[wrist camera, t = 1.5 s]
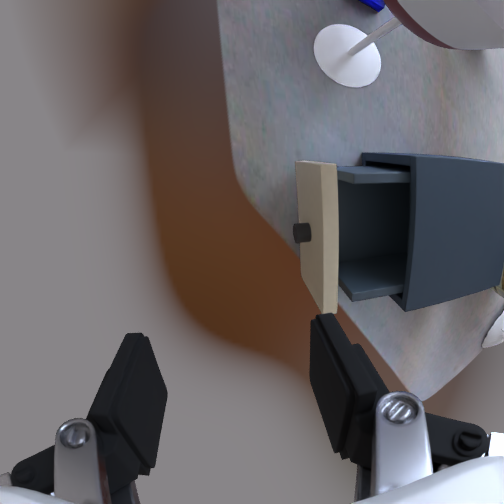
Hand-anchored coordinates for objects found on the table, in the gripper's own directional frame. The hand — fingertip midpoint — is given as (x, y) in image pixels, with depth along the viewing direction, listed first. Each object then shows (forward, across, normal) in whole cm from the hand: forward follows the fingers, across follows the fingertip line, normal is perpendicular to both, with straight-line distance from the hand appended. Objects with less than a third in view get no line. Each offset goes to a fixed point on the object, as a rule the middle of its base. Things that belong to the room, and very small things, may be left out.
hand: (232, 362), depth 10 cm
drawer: (+19, -12, 0) cm, 22 cm away
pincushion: (+20, -46, +21) cm, 54 cm away
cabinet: (+20, -20, 0) cm, 28 cm away
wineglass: (+20, -14, -17) cm, 29 cm away
